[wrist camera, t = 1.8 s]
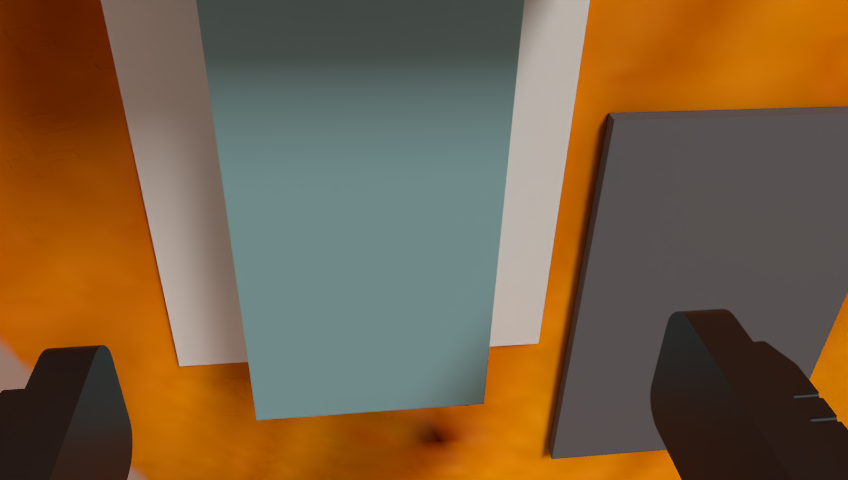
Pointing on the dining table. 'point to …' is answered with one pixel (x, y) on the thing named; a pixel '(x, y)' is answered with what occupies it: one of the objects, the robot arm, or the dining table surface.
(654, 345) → the rubber mat
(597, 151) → the dining table surface
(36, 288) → the dining table surface
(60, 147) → the dining table surface
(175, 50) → the white piece
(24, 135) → the dining table surface
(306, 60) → the teal blank
